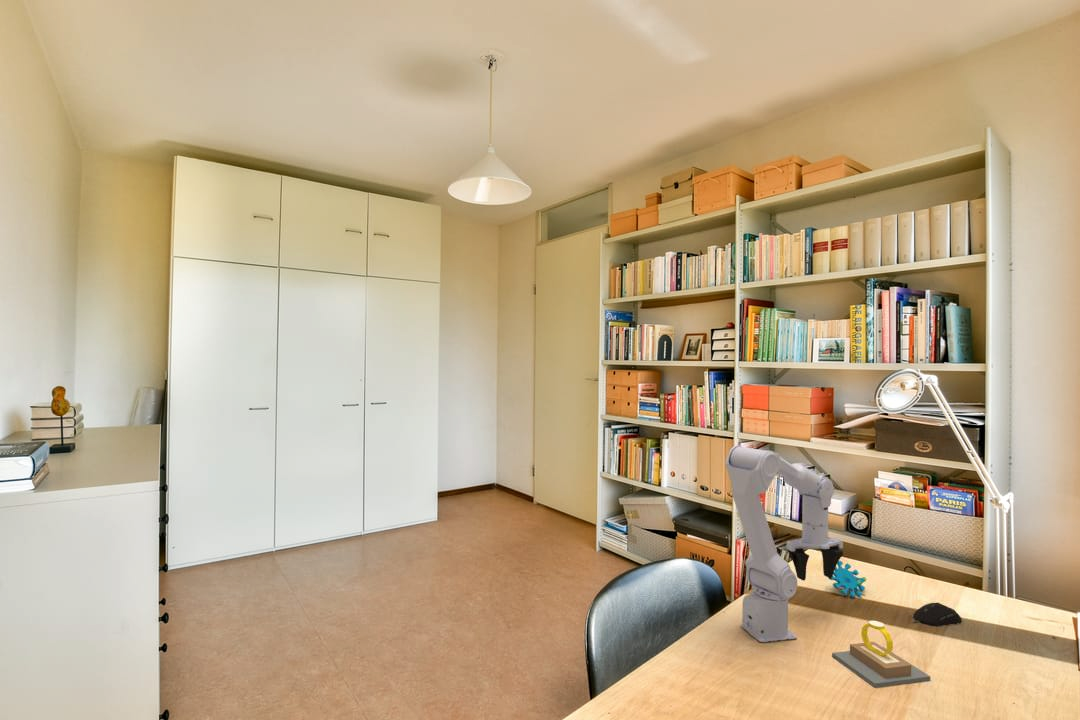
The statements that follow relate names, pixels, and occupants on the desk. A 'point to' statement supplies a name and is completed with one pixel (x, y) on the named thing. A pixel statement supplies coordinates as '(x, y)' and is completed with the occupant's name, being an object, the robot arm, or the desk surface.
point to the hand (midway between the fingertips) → (814, 577)
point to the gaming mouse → (936, 615)
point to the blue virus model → (848, 580)
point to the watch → (881, 627)
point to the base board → (876, 676)
